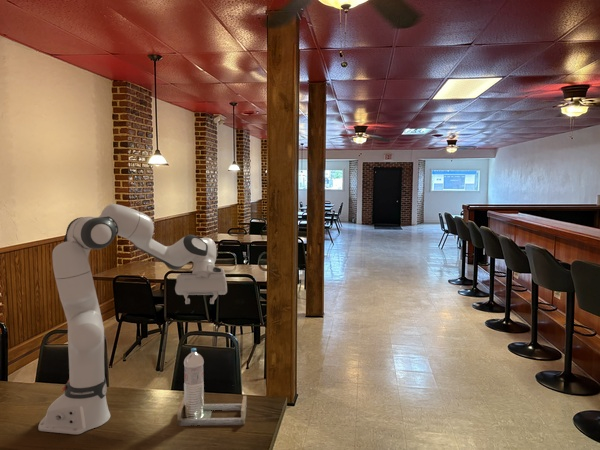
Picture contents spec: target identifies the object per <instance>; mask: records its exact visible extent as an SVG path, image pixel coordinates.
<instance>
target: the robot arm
mask: <svg viewBox="0 0 600 450" xmlns="http://www.w3.org/2000/svg"><path fill="white" fill-rule="evenodd" d="M154 231H155V225H154V221H153V220H152V218H151V217H150V216H149V215H147V214H146V213H144V212H141V211H140V210H137V209H134V208H132V207H128V206H125V205H122V204H117V203H111V204H108V205H106V206H105V207H104V208H103V210H102V211H101V214H100V215H99V216H97V217H96V216H81V217H76V218H75V219H73V220H72V221H71V222H69V223H68V226H67V227H66V231H65V232H66V233H65V235H64V239H63V242H60V243H59V244H57V245H56V246H55V247H54V248H53V250H52V253H51V254H52V258H51V259H52V268H53V274H54V280H55V282H56V287H57V291H58V295H59V296H58V297H59V301H60V302H61V306H62V309H63V312H64V315H65V319H66V323H67V347H68V348H67V349H68V351H67V352H68V370H69V371H68V374H69V378H68V380H67V382H66V383H65V384H64V387H62V389H61V391H62V392H61V393H62V394H61V395H60V396H59V397H57V398H56V399H55V400H54V401H53V402H52V403H51V404H50V405H49V406H48V409H47V410H46V415H45V416H44V417H43V418H42V419H41V420H40V422H39V424H38V428H37V429H38V431H39V432H49V433H58V434H59V433H60V434H69V435H80V434H83V433H85V432H87V431H90V430H93V429H94V428H95V429H96V428H98V427H101V426H103V425H104V424H106V423H107V422H108V421H109V420H110V419H111V412H110V411H109V406H108V402H107V396H106V395H107V379H106V377H105V327H104V321H103V316H102V314H101V313H102V311H101V308H100V304H99V300H98V295H97V291H96V287H95V283H94V277H93V273H92V269H91V265H90V260H89V258H90V257H89V256H90V252H91V250H101V249H102V250H103V249H105V248H106V247H108V246H110V245H111V244H112V242H113V241H114V240H115V237H117V236H119V237H121V238H123V239H125V240H128V241H130V242H132V245H133V246H134V247H135V248H136V249H138V250H140V251H141V252H143V253H144V254H145V253H146V254H147V255H149V256H151V257H153V258H155V259H157V261H161V262H162V263H163V264H164V265H166V266H167V267H168V268H169V269H172V270H174V271H175V270H180V269H182V268H183V267H184V266H186V265H187V264H188V263H190V262H192V263H193V267H192V272H189V273H187V272H186V273H184V272H183V273H180V274H178V275H176V279H175V281H176V282H175V286H174V290H175V294H176V295H178V296H183V297H184V299H185V301H184V303H185V305H190V304H191V299H190V297H189V296H196V295H197V296H203V295H204V296H210V295H211V296H212V297H210V298H209V299H210V300H209V304H210V305H214V304H215V300H216V299H217V298H218V296H219V295H220V296H222V295H223V296H224V295H226V294H227V293H228V284H227V278H226V272H225V269H224V268H222V267H217V266H215V265H216V264H215V263H216V261H217V244H216V243H215V241H214V239H212V238H209V237H199V236H196V235H194V234H187V235H185V236H183V237H182V238H180V239H179V240H178V241H176V242H174V243H173V244H172V245H167V246H166V245H164V244H162V243H160V242H158V241H157V240H155V239H153V236H154ZM63 392H64V393H63Z"/></svg>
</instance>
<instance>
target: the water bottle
mask: <svg viewBox="0 0 600 450" xmlns="http://www.w3.org/2000/svg"><path fill="white" fill-rule="evenodd" d="M204 363H205V361H204V357H203V356H202V355H201V354H200V353H198V352H197V347H193V348H192V347H191V348H190V353H189V354H188V355H187V356H185V358H184V360H183V365H184V367H183V369H184V371H183V373H184V377H183V378H184V383H183V392H184V393H183V394H184V396H183V398H184V415H185V417H184V418H202V416H203V414H204V404H205V401H204V399H205V395H204V394H205V389H204V387H205V384H204V383H205V382H204Z"/></svg>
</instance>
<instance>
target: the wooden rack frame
mask: <svg viewBox="0 0 600 450" xmlns="http://www.w3.org/2000/svg"><path fill="white" fill-rule="evenodd" d="M241 401H242V402H241V403H204V414H203V416H202V418H185V415H184V397H183V398H182V400H181V402H180V405H179V407H178V409H177V412H176V413H177V414H176V415H177V426H178V427H185V426H186V427H189V426H190V427H191V425H192V426H193V425H194V426H197V425H200V426H244V425H245V424H246V423H245V422H246V414H247V395H243V396H242V400H241ZM211 410H212V411H211ZM213 410H214V411H215V410H222V411H240V417H212V412H213ZM194 426H193V427H194ZM197 427H198V426H197Z"/></svg>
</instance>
